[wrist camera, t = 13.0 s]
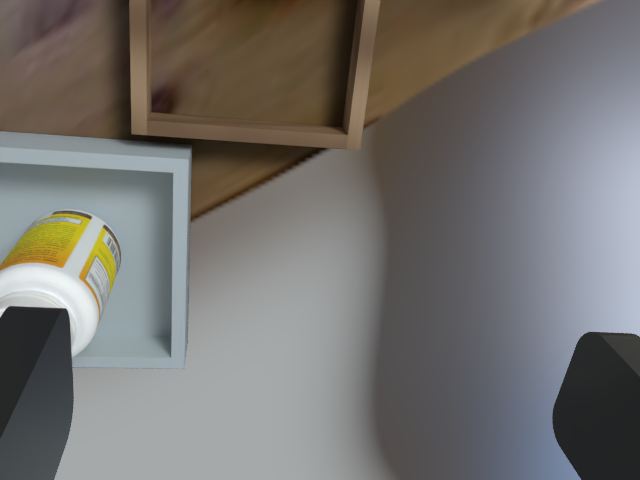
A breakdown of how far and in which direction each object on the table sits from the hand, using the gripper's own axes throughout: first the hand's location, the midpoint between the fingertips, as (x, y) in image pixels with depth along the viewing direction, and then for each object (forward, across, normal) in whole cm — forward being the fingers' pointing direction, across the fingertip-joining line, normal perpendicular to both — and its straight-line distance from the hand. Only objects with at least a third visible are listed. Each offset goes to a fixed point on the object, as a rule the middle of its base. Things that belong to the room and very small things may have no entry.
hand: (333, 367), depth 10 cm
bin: (+27, +10, +12) cm, 31 cm away
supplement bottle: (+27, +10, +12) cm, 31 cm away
